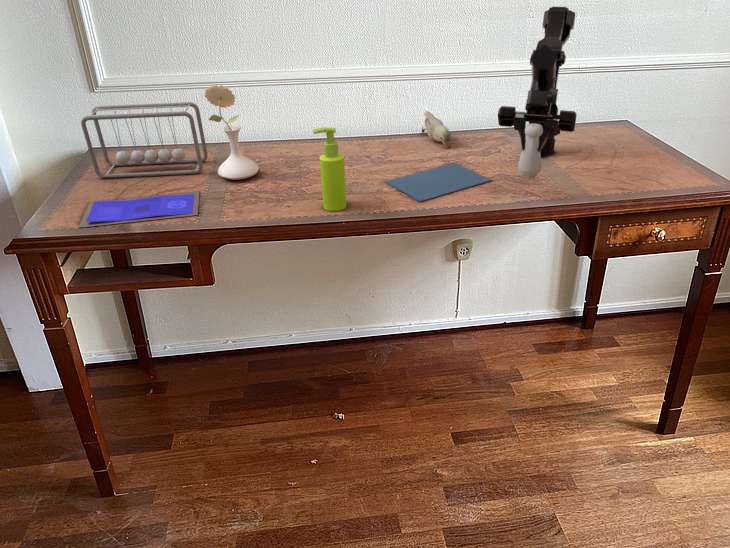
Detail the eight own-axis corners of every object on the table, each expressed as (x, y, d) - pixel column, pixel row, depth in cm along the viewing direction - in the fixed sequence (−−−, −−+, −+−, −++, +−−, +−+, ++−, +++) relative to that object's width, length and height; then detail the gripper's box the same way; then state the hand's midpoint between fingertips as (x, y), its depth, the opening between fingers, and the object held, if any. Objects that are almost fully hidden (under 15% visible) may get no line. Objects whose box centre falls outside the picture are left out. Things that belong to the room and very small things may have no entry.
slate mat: (454, 163, 177) (454, 162, 176) (490, 181, 165) (490, 180, 165) (385, 182, 166) (385, 181, 166) (420, 202, 155) (420, 201, 154)
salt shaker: (542, 172, 155) (549, 122, 147) (537, 181, 150) (544, 129, 143) (519, 169, 156) (525, 120, 149) (514, 178, 152) (520, 127, 145)
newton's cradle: (96, 179, 172) (78, 116, 162) (107, 166, 180) (90, 106, 170) (203, 173, 173) (191, 111, 164) (209, 161, 182) (198, 101, 172)
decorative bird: (439, 150, 187) (440, 125, 182) (418, 134, 199) (418, 111, 195) (455, 147, 188) (456, 123, 184) (433, 132, 201) (433, 109, 196)
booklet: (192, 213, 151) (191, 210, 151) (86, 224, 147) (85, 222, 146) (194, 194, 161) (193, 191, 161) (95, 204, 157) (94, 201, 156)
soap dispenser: (319, 202, 156) (312, 125, 145) (346, 200, 156) (341, 124, 145) (319, 212, 151) (312, 133, 140) (346, 210, 151) (342, 131, 140)
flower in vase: (267, 171, 174) (255, 82, 160) (243, 186, 165) (229, 92, 152) (230, 165, 179) (215, 78, 165) (205, 179, 170) (188, 88, 156)
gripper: (502, 72, 146) (490, 132, 143) (582, 77, 140) (571, 138, 138) (504, 96, 156) (493, 152, 154) (579, 101, 151) (569, 159, 149)
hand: (530, 150), depth 148 cm, fingers closed on salt shaker, 3 cm apart
